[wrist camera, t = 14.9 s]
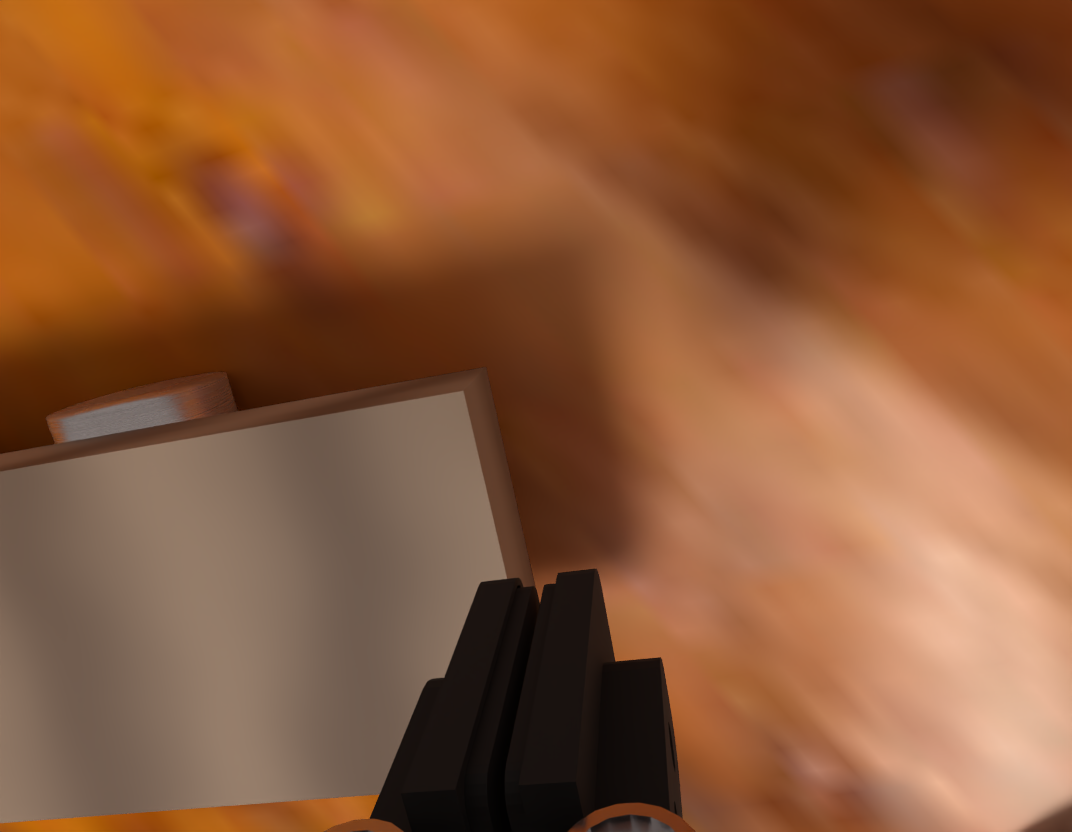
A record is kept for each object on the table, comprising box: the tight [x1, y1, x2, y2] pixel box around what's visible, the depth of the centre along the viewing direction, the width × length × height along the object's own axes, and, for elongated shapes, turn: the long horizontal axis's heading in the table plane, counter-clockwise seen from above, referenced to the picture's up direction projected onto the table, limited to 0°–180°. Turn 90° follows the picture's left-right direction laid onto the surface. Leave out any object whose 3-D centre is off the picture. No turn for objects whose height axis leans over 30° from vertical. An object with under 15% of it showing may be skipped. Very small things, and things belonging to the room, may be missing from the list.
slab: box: [0, 367, 536, 823], centre depth 16 cm, size 18×8×2 cm, turn 102°
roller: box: [46, 372, 238, 444], centre depth 19 cm, size 9×4×4 cm
